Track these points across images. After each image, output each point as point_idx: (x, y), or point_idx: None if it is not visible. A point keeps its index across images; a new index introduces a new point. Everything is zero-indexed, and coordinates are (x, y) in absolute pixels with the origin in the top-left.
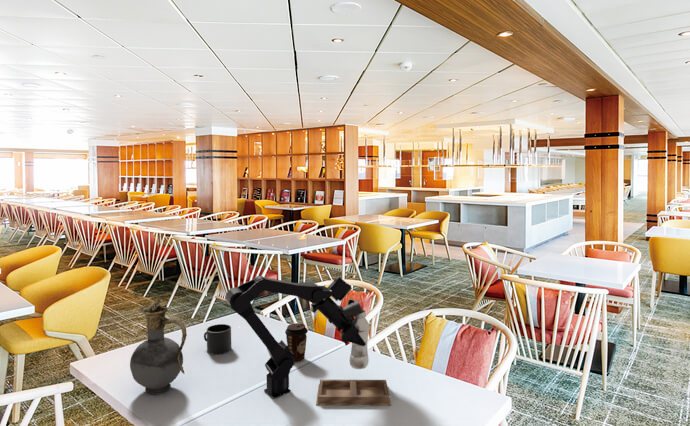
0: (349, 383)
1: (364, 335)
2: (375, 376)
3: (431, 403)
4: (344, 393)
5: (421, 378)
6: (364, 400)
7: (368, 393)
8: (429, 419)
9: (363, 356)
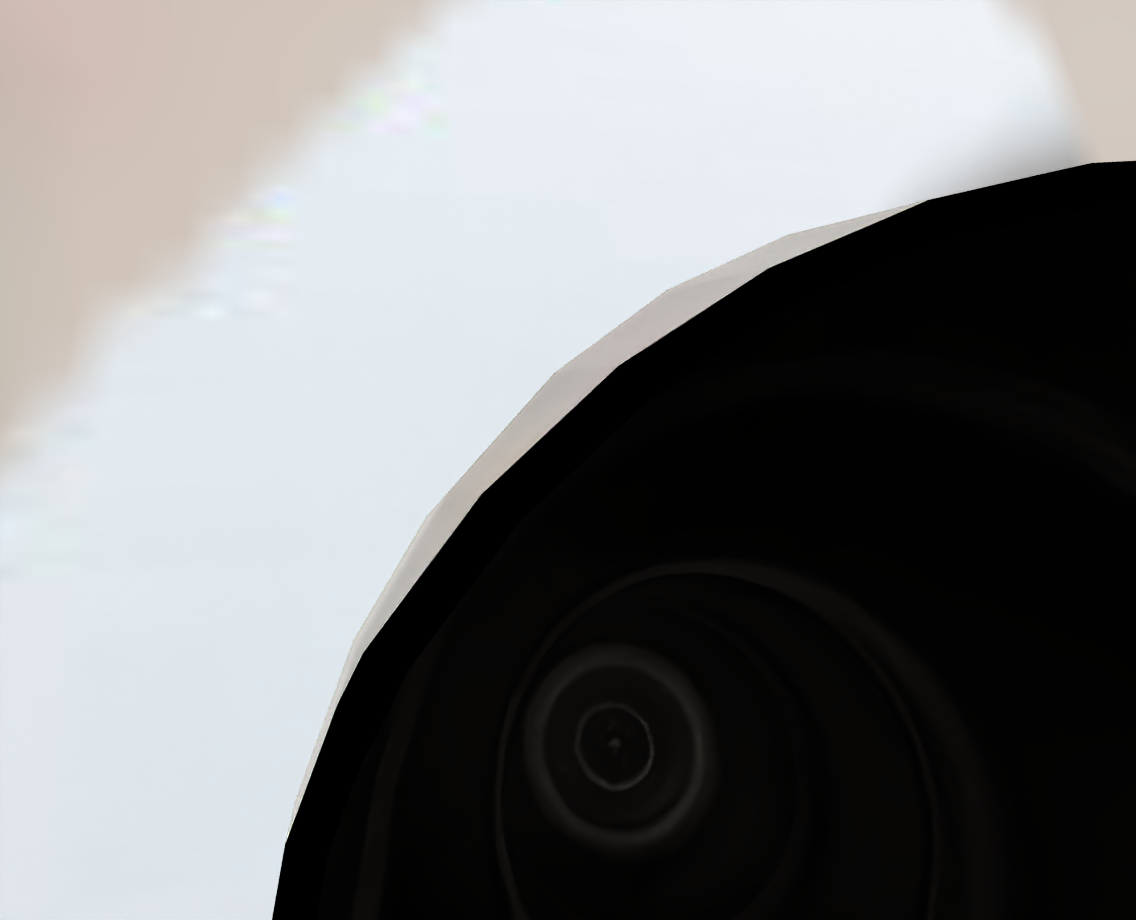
0: None
1: (1055, 595)
2: None
3: (874, 127)
4: None
5: (502, 158)
6: None
7: None
8: (1074, 156)
9: (760, 660)
